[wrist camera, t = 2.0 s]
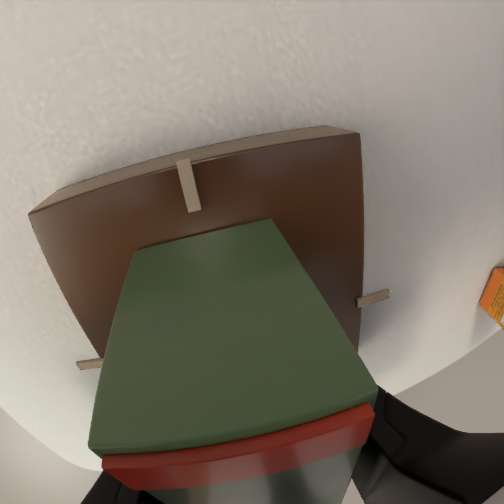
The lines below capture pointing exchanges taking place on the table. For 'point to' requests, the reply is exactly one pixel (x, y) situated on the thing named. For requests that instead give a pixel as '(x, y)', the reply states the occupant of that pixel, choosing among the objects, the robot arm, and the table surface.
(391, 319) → the table surface
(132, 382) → the green box
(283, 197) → the brown rectangular platform
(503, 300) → the supplement box
